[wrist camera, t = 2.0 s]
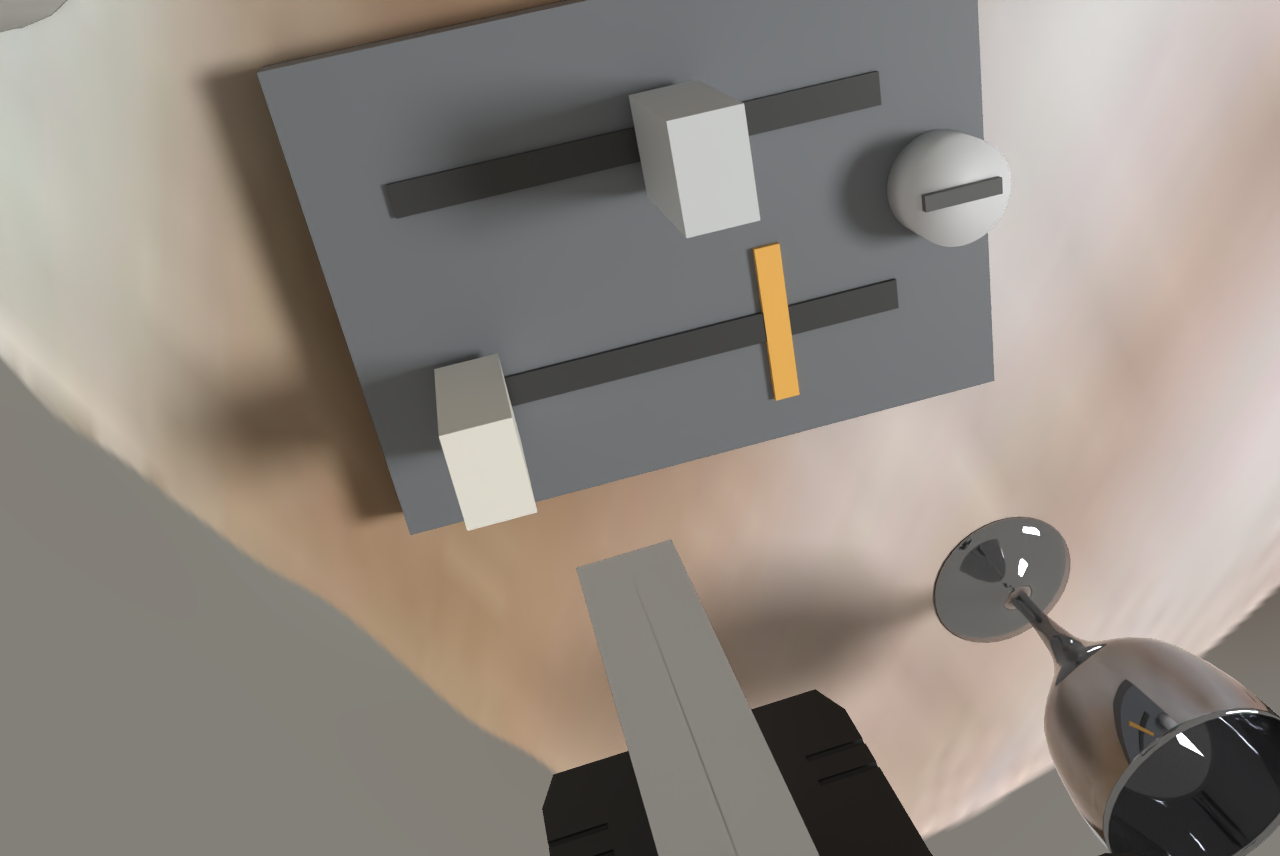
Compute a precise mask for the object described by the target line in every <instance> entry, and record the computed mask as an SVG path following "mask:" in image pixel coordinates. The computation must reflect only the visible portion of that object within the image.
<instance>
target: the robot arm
mask: <svg viewBox="0 0 1280 856" xmlns="http://www.w3.org/2000/svg"><path fill="white" fill-rule="evenodd" d="M576 569H577V573H578V576H579V580H580V583H581V587H582V590H583V594H584V597H585V601H586V604H587V608H588V611H589V615H590V618H591V622H592V625H593V629H594V632H595V636H596V639H597V643H598V646H599V650H600V653H601V657H602V660H603V664H604V667H605V671H606V674H607V677H608V681H609V684H610V688H611V691H612V695H613V698H614V702H615V705H616V709H617V712H618V716H619V719H620V723H621V726H622V730H623V733H624V737H625V740H626V744H627V747H628V751H627V752H624V753H621V754H617V755H614V756H611V757H608V758H605V759H602V760H598V761H595V762H592V763H589V764H586V765H583V766H579V767H576V768H573V769H570V770H567V771H564V772H560V773H557V774H554V775H553V778H552V781H551V784H550V787H549V790H548V793H547V796H546V799H545V802H544V805H543V808H542V810H543V816H544V822H545V827H546V834H547V840H548V844H549V852H550V856H933V855H932V854H931V853H930V851H929V850H928V848H927V846H926V845H925V843H924V841H923V839H922V838H921V836H920V834H919V833H918V831H917V829H916V828H915V826H914V824H913V823H912V821H911V819H910V818H909V816H908V814H907V813H906V811H905V809H904V808H903V806H902V804H901V802H900V801H899V799H898V797H897V796H896V794H895V792H894V791H893V789H892V787H891V786H890V784H889V782H888V781H887V779H886V777H885V776H884V774H883V772H882V771H881V769H880V767H878V766H877V763H876V761H875V759H874V757H873V755H872V754H871V752H870V750H869V749H868V747H867V745H866V744H864V742H863V740H862V737H861V735H860V734H859V732H858V730H857V729H856V727H855V725H854V724H853V722H852V720H851V719H850V717H849V715H848V713H847V712H846V710H845V709H844V708H842V707H841V706H839V705H838V704H836V703H835V702H833V701H832V700H830V699H829V698H827V697H826V696H824V695H823V694H821V693H820V692H818V691H817V690H812V691H809V692H805V693H802V694H799V695H796V696H793V697H790V698H786V699H783V700H780V701H777V702H774V703H771V704H767V705H764V706H761V707H758V708H755V709H752V710H751V709H750V706H749V704H748V702H747V700H746V698H745V696H744V694H743V691H742V689H741V687H740V685H739V683H738V681H737V679H736V676H735V674H734V672H733V670H732V668H731V666H730V664H729V662H728V659H727V657H726V655H725V653H724V651H723V649H722V647H721V644H720V642H719V640H718V638H717V636H716V634H715V632H714V629H713V627H712V625H711V623H710V621H709V619H708V617H707V615H706V612H705V610H704V608H703V606H702V604H701V602H700V600H699V597H698V595H697V593H696V591H695V589H694V587H693V585H692V582H691V580H690V578H689V576H688V574H687V572H686V570H685V568H684V565H683V563H682V561H681V559H680V557H679V555H678V553H677V550H676V548H675V546H674V544H673V542H672V540H668V541H665V542H661V543H658V544H655V545H651V546H648V547H644V548H641V549H638V550H634V551H631V552H628V553H624V554H621V555H618V556H614V557H611V558H608V559H604V560H601V561H597V562H594V563H591V564H587V565H584V566H581V567H577V568H576ZM1099 856H1145V855H1141V854H1137V853H1133V852H1129V853H1105V854H1102V855H1099Z"/></svg>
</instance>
